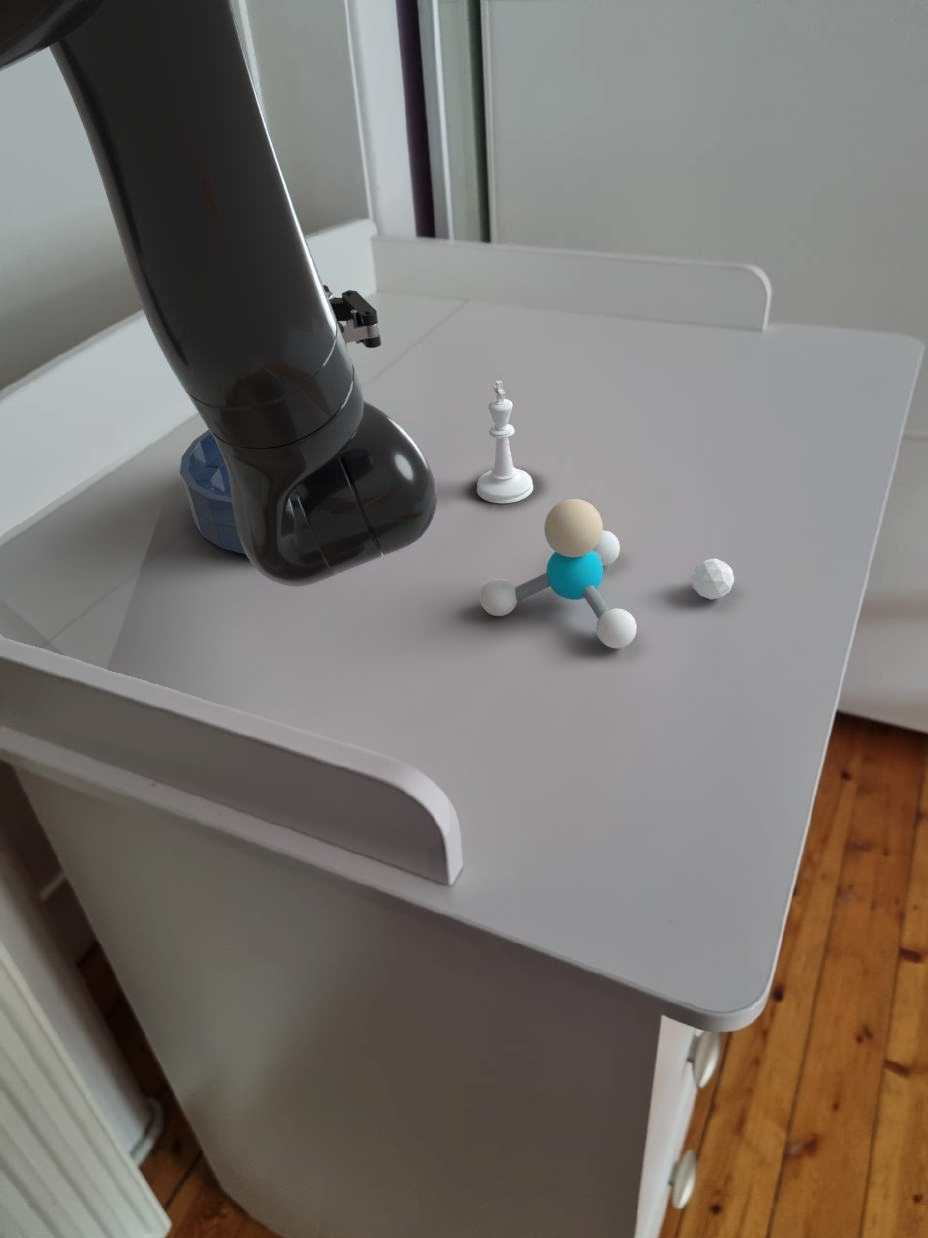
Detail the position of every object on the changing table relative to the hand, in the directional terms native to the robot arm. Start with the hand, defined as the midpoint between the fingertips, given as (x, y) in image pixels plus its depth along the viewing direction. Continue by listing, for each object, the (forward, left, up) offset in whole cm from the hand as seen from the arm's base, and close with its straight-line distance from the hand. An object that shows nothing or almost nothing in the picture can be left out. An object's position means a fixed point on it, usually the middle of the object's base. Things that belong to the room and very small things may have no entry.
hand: (272, 300), depth 75 cm
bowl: (-3, -2, -17) cm, 17 cm away
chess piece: (+10, -15, -17) cm, 25 cm away
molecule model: (0, -30, -17) cm, 34 cm away
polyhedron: (+8, -37, -17) cm, 41 cm away
